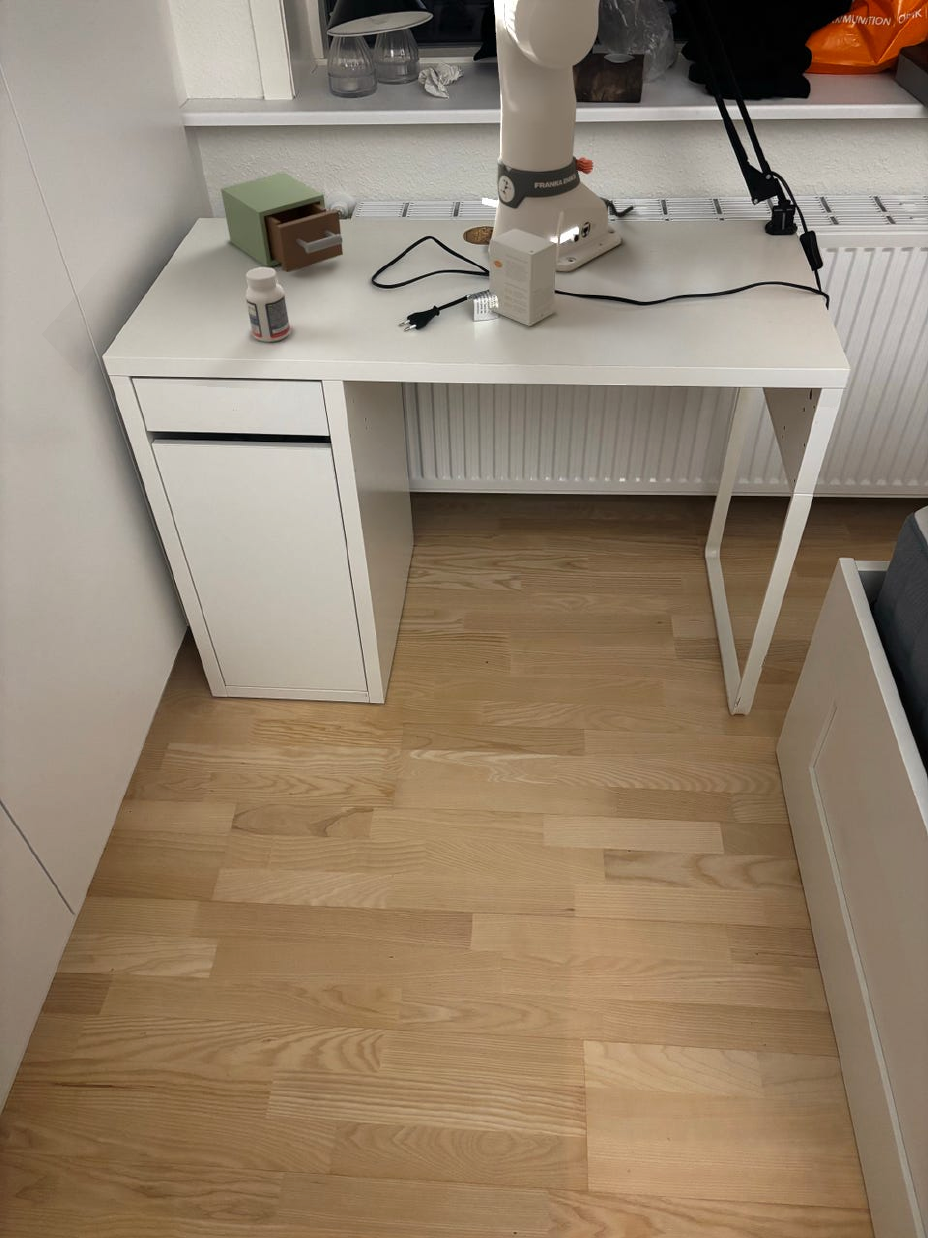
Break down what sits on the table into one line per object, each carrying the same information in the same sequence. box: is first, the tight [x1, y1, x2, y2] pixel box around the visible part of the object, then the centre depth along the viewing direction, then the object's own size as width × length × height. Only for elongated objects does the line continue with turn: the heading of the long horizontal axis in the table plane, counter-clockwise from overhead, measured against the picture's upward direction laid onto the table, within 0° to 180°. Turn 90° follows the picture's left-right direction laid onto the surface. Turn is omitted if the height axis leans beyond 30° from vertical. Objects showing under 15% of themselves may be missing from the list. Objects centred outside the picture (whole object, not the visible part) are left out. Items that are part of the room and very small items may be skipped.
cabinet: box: [220, 171, 326, 268], centre depth 149 cm, size 13×12×9 cm
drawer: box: [264, 202, 344, 273], centre depth 145 cm, size 16×10×7 cm, turn 38°
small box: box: [488, 229, 557, 327], centre depth 131 cm, size 8×6×10 cm
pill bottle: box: [245, 266, 291, 343], centre depth 127 cm, size 5×5×9 cm
